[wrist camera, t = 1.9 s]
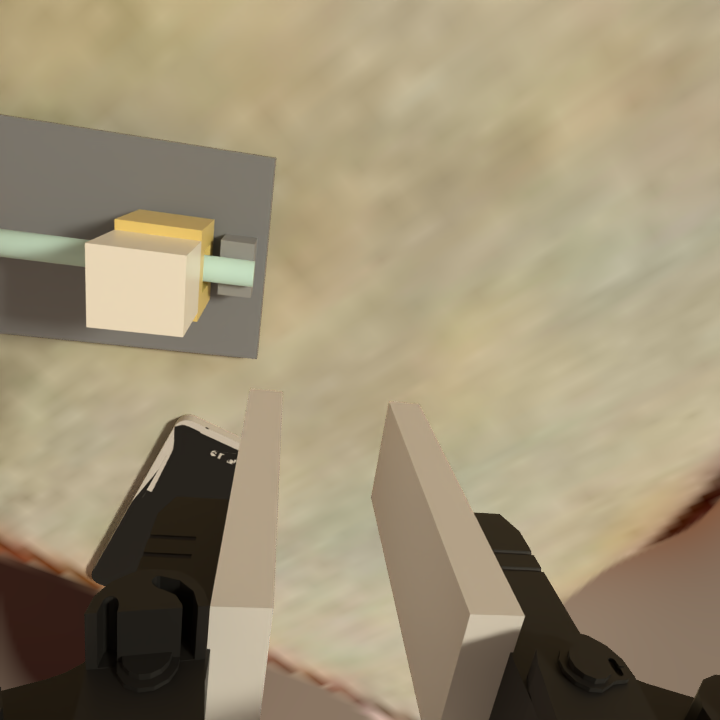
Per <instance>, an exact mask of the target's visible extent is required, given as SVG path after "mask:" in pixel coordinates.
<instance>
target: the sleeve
mask: <svg viewBox="0 0 720 720" xmlns="http://www.w3.org/2000/svg"><path fill="white" fill-rule="evenodd" d="M214 222H215V220H214V219H207V218H200V217H193V216H185V215H178V214H171V213H164V212H156V211H149V210H142V209H139V210H136V211H134V212H131V213H129V214H126V215H123V216H121V217H118V218H116V219H115V230H113V231H110V232H108V233H106V234H104V235H101V236H99V237H97V238H95V239H92V240H90V241H88V242H86V243H85V280H86V327H89V328H99V329H108V330H118V331H128V332H137V333H147V334H156V335H166V336H175V337H183V336H184V335H185V333H186V331H187V330H188V328H189V326H190V325H191V323H192V321H194V322H197V321H198V319H199V318H200V316H201V314H202V312H203V311H204V309H205V307H206V305H207V303H208V302H209V300H210V288H211V282H205V281H203V267H204V255H210V256H212V255H213V239H214Z"/></svg>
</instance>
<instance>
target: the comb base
mask: <svg viewBox="0 0 720 720" xmlns="http://www.w3.org/2000/svg"><path fill="white" fill-rule="evenodd" d="M275 166H276V158H274V157H268V156H261V155H255V154H248V153H242V152H236V151H229V150H223V149H217V148H210V147H204V146H198V145H191V144H185V143H179V142H172V141H166V140H160V139H153V138H147V137H141V136H134V135H128V134H122V133H115V132H109V131H103V130H96V129H90V128H84V127H77V126H71V125H65V124H58V123H52V122H46V121H39V120H33V119H27V118H20V117H14V116H8V115H1V114H0V333H3V334H13V335H23V336H32V337H42V338H52V339H62V340H72V341H82V342H92V343H102V344H112V345H122V346H132V347H142V348H152V349H162V350H172V351H182V352H192V353H202V354H212V355H222V356H232V357H242V358H252V359H257V355H258V347H259V336H260V326H261V315H262V304H263V294H264V283H265V272H266V262H267V251H268V240H269V230H270V219H271V208H272V198H273V187H274V176H275ZM139 209H142V210H149V211H156V212H164V213H171V214H178V215H185V216H193V217H200V218H207V219H214V220H215V222H214V239H213V255H212V256H210V255H204V267H203V281H205V282H211V288H210V300H209V302H208V303H207V305H206V307H205V309H204V311H203V312H202V314H201V316H200V318H199V319H198V321H197V322H194V321H192V323H191V325H190V326H189V328H188V330H187V331H186V333H185V335H184V336H183V337H175V336H166V335H156V334H147V333H137V332H128V331H118V330H108V329H99V328H89V327H86V280H85V243H86V242H88V241H90V240H92V239H95V238H97V237H99V236H101V235H104V234H106V233H108V232H110V231H113V230H115V219H116V218H118V217H121V216H123V215H126V214H129V213H131V212H134V211H136V210H139Z"/></svg>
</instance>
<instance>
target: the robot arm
mask: <svg viewBox="0 0 720 720" xmlns="http://www.w3.org/2000/svg"><path fill="white" fill-rule="evenodd" d="M282 401H283V391H275V390H264V389H253V388H250V391H249V396H248V401H247V407H246V412H245V418H244V423H243V429H242V434H241V440H240V445H239V451H238V456H237V462H236V467H235V473H234V478H233V484H232V489H231V495H230V500H227V499H211V498H194V497H178V496H176V497H175V498H174V499H173V500H172V501H171V502H170V503H169V504H168V505H166V506H165V507H164V508H163V509H162V510H161V511H160V512H159V513H158V514H157V517H156V520H155V522H154V525H153V528H152V530H151V533H150V538H149V539H148V541H147V544H146V546H145V549H144V552H143V557H141V560H140V562H139V565H138V568H137V570H136V572H132V573H130V574H128V575H125V576H123V577H121V578H119V579H117V580H114V581H112V582H110V583H109V584H108V585H107V586H106V587H104V588H103V589H102V590H101V591H100V592H99V593H97V594H96V595H95V596H94V597H93V599H92V601H91V603H90V605H89V607H88V608H87V610H86V612H85V614H84V616H85V658H86V659H85V660H86V661H85V662H84V663H83V664H81V665H79V666H77V667H75V668H73V669H72V670H70V671H68V672H66V673H63V674H61V675H58V676H55V677H52V678H49V679H46V680H42V681H38V682H34V683H30V684H27V685H23V686H19V687H15V688H11V689H7V690H4V691H1V687H0V720H260V713H261V705H262V697H263V689H264V681H265V673H266V665H267V657H268V649H269V641H270V633H271V625H272V617H273V609H274V586H275V563H276V540H277V517H278V493H279V470H280V447H281V424H282ZM371 499H372V503H373V508H374V512H375V517H376V521H377V526H378V530H379V535H380V539H381V543H382V548H383V552H384V557H385V561H386V566H387V570H388V575H389V579H390V584H391V588H392V592H393V597H394V601H395V606H396V610H397V615H398V619H399V624H400V628H401V633H402V637H403V641H404V646H405V650H406V655H407V659H408V664H409V668H410V673H411V677H412V682H413V686H414V690H415V695H416V699H417V704H418V708H419V713H420V717H421V720H720V675H714V676H711V677H709V678H706V679H704V680H703V681H702V683H701V686H700V687H699V690H698V692H697V694H696V696H695V698H693V697H690V696H686V695H683V694H679V693H676V692H673V691H669V690H666V689H663V688H659V687H656V686H653V685H649V684H646V683H644V682H641V681H639V680H636V678H635V676H634V675H633V674H632V672H631V671H630V670H629V668H628V667H627V665H626V664H625V662H624V661H623V660H622V659H621V658H620V657H619V656H618V655H616V654H615V653H614V652H613V651H612V650H611V649H609V648H608V647H607V646H606V645H604V644H602V643H600V642H598V641H597V640H595V639H593V638H591V637H589V636H587V635H584V634H580V632H579V631H578V629H577V627H576V626H575V624H574V623H573V621H572V619H571V617H570V616H569V614H568V612H567V611H566V609H565V607H564V606H563V604H562V602H561V600H560V599H559V597H558V595H557V594H556V592H555V590H554V589H553V587H552V585H551V584H550V582H549V580H548V579H547V577H546V575H545V574H544V572H541V567H540V565H539V563H538V562H537V560H536V558H535V557H534V555H531V550H530V548H529V547H528V545H527V543H526V542H525V540H524V538H523V536H522V535H521V533H520V532H519V531H518V530H517V529H516V528H515V527H514V526H513V525H511V524H510V523H509V522H508V521H507V520H506V519H505V518H503V517H502V516H501V515H500V514H489V513H473V511H472V509H471V507H470V505H469V503H468V501H467V499H466V497H465V495H464V492H463V490H462V488H461V486H460V484H459V482H458V480H457V478H456V476H455V474H454V472H453V470H452V468H451V466H450V464H449V462H448V460H447V458H446V456H445V454H444V452H443V450H442V448H441V446H440V444H439V442H438V440H437V438H436V436H435V434H434V432H433V430H432V428H431V426H430V424H429V422H428V420H427V418H426V416H425V414H424V412H423V410H422V408H421V406H420V404H416V403H405V402H394V401H389V403H388V409H387V414H386V419H385V425H384V430H383V436H382V441H381V447H380V452H379V457H378V463H377V468H376V474H375V479H374V485H373V490H372V495H371Z"/></svg>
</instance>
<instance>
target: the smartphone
mask: <svg viewBox="0 0 720 720" xmlns="http://www.w3.org/2000/svg"><path fill="white" fill-rule="evenodd" d="M240 440H241V437H240V436H238V435H235V434H233V433H231V432H229V431H227V430H225V429H223V428H221V427H218V426H216V425H214V424H212V423H210V422H208V421H206V420H203V419H201V418H199V417H197V416H195V415H191V414H187V415H183V416H181V417H180V418H179V419H178V420H177V422H176V423H175V425H174V427H173V429H172V430H171V432H170V434H169V436H168V437H167V439H166V441H165V443H164V445H163V446H162V448H161V450H160V452H159V453H158V455H157V457H156V459H155V460H154V462H153V464H152V466H151V467H150V469H149V471H148V473H147V475H146V476H145V478H144V480H143V482H142V483H141V485H140V487H139V489H138V490H137V492H136V494H135V496H134V498H133V499H132V501H131V503H130V505H129V506H128V508H127V510H126V512H125V513H124V515H123V517H122V519H121V520H120V522H119V524H118V526H117V528H116V529H115V531H114V533H113V535H112V536H111V538H110V540H109V542H108V543H107V545H106V547H105V549H104V551H103V552H102V554H101V556H100V558H99V559H98V561H97V563H96V565H95V567H94V569H93V571H92V578H93V580H94V581H95V582H96V583H98V584H101V585H103V586H107V585H108V584H109V583H110V582H112V581H114V580H117V579H119V578H121V577H123V576H125V575H128V574H130V573H132V572H136V570H137V568H138V565H139V562H140V560H141V557H143V552H144V549H145V546H146V544H147V541H148V539H149V538H150V533H151V530H152V528H153V525H154V522H155V520H156V517H157V514H158V513H159V512H160V511H161V510H162V509H163V508H164V507H165V506H166V505H168V504H169V503H170V502H171V501H172V500H173V499H174V498H175V497H176V496H178V497H194V498H211V499H227V500H230V495H231V489H232V484H233V478H234V473H235V467H236V462H237V456H238V451H239V445H240Z"/></svg>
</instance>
